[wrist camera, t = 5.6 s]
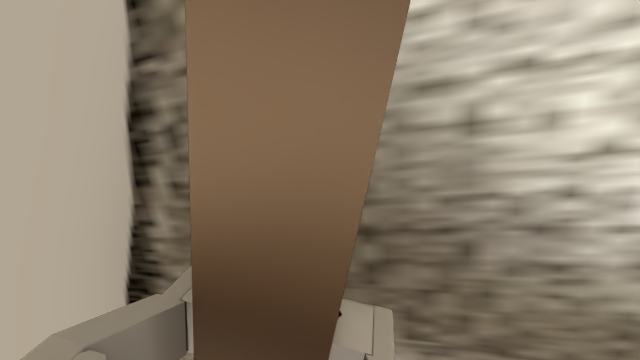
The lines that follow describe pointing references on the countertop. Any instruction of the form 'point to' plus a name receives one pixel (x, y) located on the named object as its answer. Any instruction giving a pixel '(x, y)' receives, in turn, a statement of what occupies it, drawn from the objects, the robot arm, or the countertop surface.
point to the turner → (280, 164)
